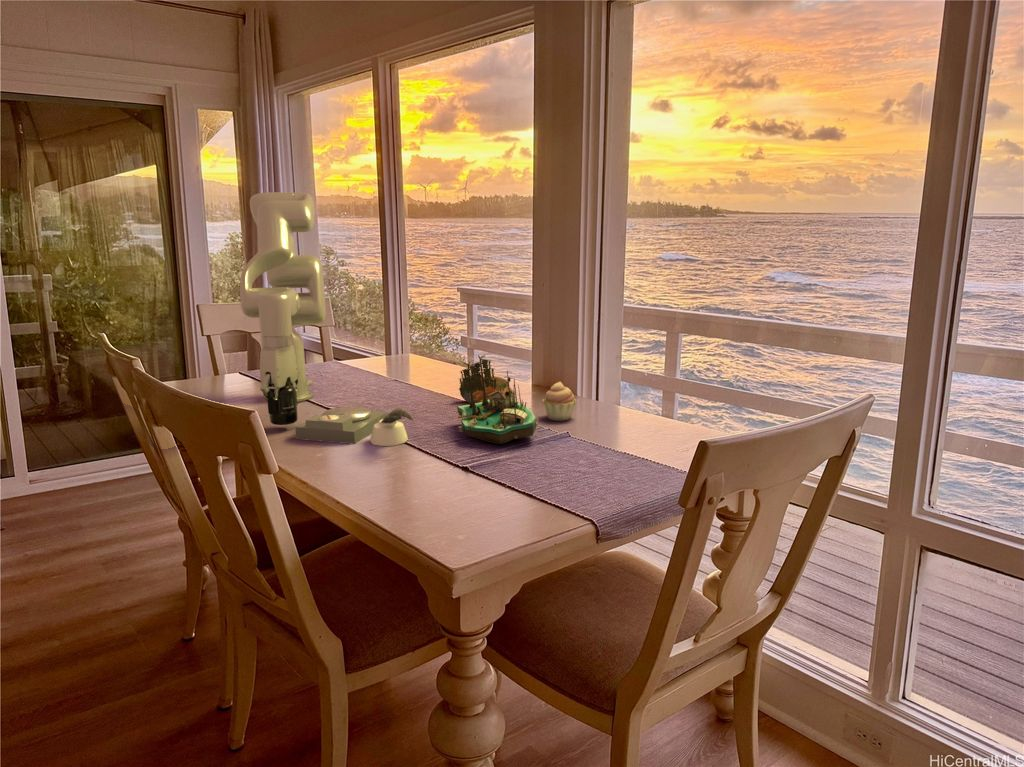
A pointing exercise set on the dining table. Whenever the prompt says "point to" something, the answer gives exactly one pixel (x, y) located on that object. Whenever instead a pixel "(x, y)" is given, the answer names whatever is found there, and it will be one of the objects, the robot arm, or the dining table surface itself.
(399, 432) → the inkwell
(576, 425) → the dining table surface
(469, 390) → the diorama
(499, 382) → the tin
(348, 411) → the scale pan
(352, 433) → the scale
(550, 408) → the cupcake
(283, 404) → the supplement bottle
